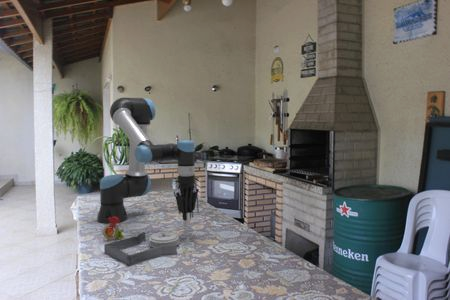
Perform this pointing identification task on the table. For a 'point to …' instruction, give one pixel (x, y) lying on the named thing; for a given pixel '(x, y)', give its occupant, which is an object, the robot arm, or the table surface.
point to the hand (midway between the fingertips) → (186, 226)
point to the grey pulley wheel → (163, 239)
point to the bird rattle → (110, 231)
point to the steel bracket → (115, 252)
